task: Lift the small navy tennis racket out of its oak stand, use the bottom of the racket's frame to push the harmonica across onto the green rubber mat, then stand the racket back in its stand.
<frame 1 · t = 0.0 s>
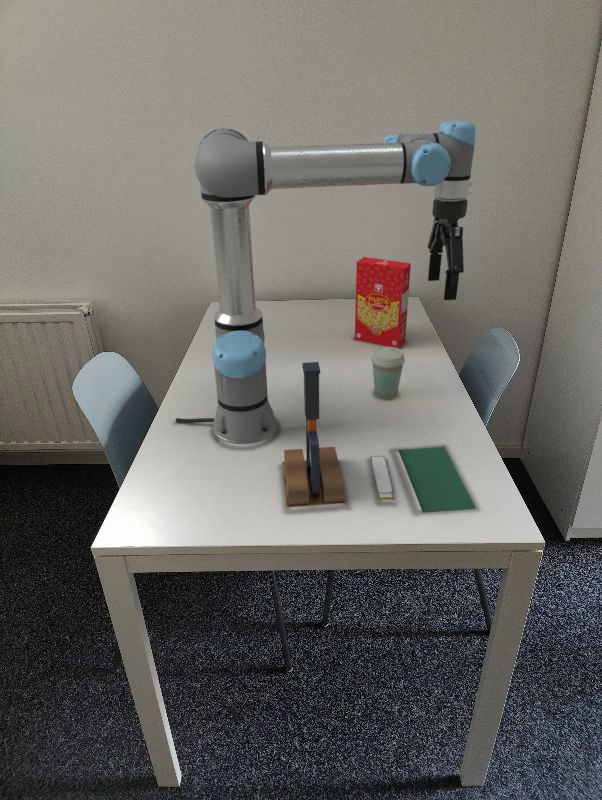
hand: (441, 289, 141), 28 cm above the table, tool pointing down, fingers open, 13 cm apart
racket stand: (313, 485, 122), on the table
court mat: (430, 477, 124), on the table
harmonica: (381, 481, 123), on the table
coffee cup: (385, 394, 155), on the table
food packaging: (379, 341, 183), on the table
racket: (313, 481, 122), point 1 cm above the table, touching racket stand
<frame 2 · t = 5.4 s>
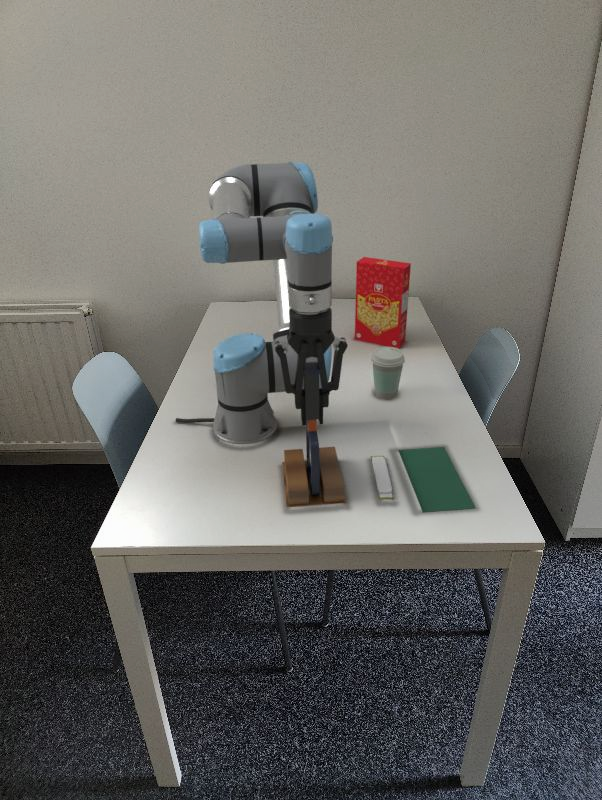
hand: (312, 421, 114), 16 cm above the table, tool pointing down, fingers closed on racket, 3 cm apart
racket: (313, 481, 122), point 1 cm above the table, touching gripper
everything else where it was.
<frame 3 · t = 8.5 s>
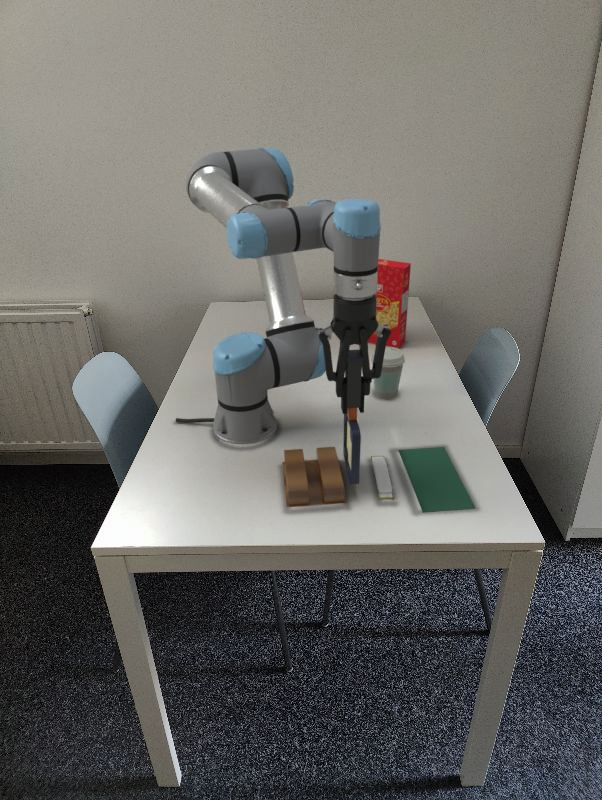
hand: (352, 409, 113), 18 cm above the table, tool pointing down, fingers closed on racket, 3 cm apart
racket: (350, 470, 121), point 3 cm above the table, touching gripper
everything else where it was.
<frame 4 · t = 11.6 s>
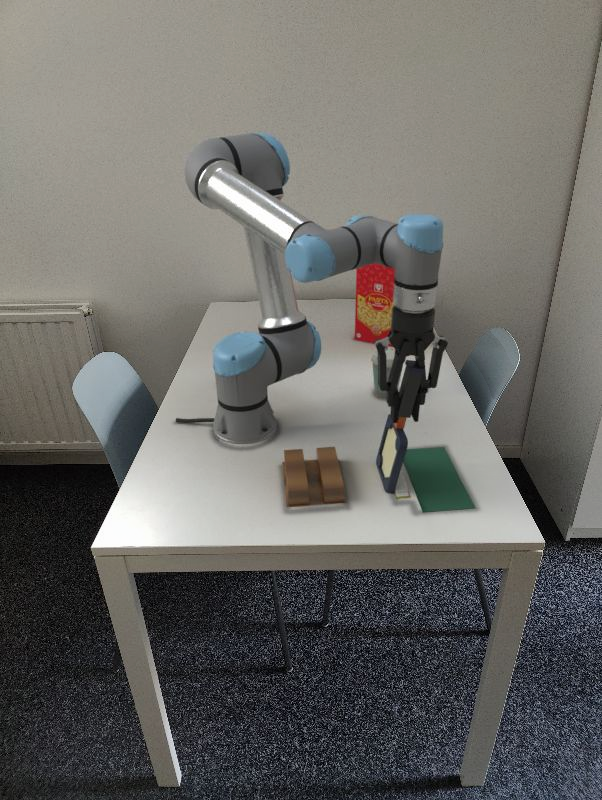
hand: (404, 418, 115), 15 cm above the table, tool pointing down, fingers closed on racket, 3 cm apart
harmonica: (395, 480, 123), on the table, touching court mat, racket
racket: (384, 478, 123), point 1 cm above the table, tilted 10°, touching gripper, harmonica
everything else where it was.
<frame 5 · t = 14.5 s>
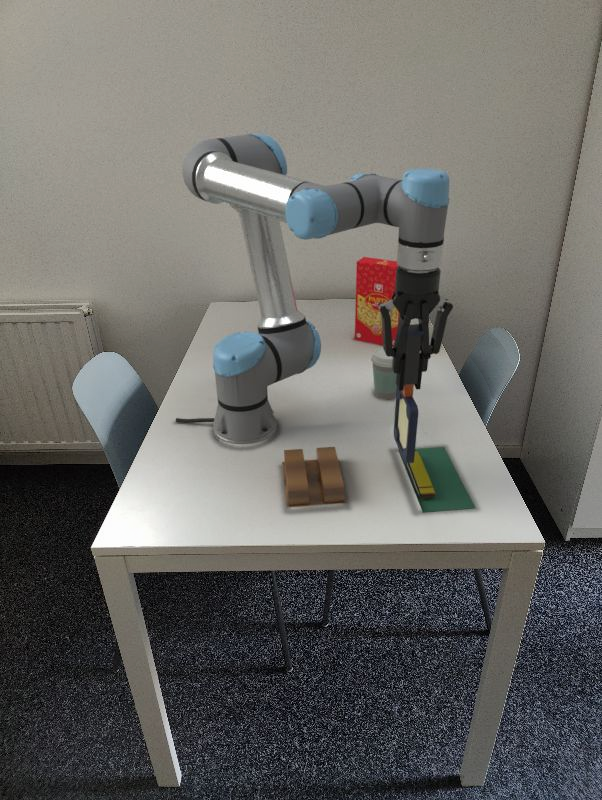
hand: (408, 386, 112), 22 cm above the table, tool pointing down, fingers closed on racket, 3 cm apart
harmonica: (418, 469, 122), point 2 cm above the table, touching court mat
racket: (403, 450, 119), point 8 cm above the table, touching gripper
everything else where it was.
when the fingers open (16 cm above the table, at t = 18.8 s): racket stays where it is, resting on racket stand.
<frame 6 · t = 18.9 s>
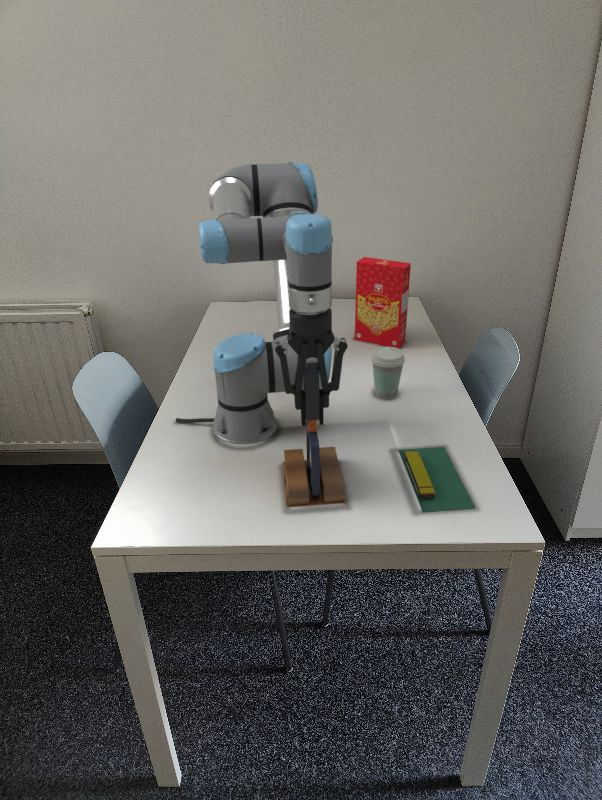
hand: (312, 421, 114), 16 cm above the table, tool pointing down, fingers open, 3 cm apart
racket: (313, 482, 121), point 1 cm above the table, touching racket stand
everything else where it was.
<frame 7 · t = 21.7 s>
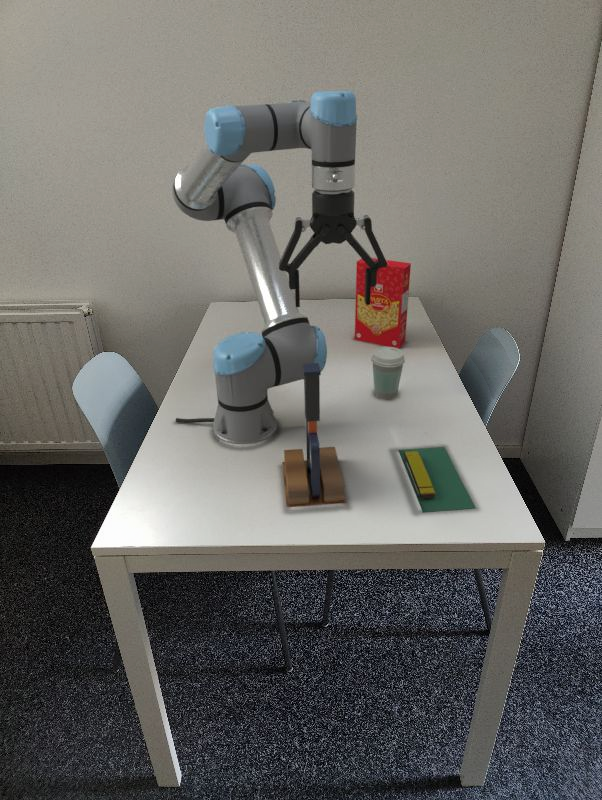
hand: (332, 303, 114), 36 cm above the table, tool pointing down, fingers open, 13 cm apart
nothing on the table moved.
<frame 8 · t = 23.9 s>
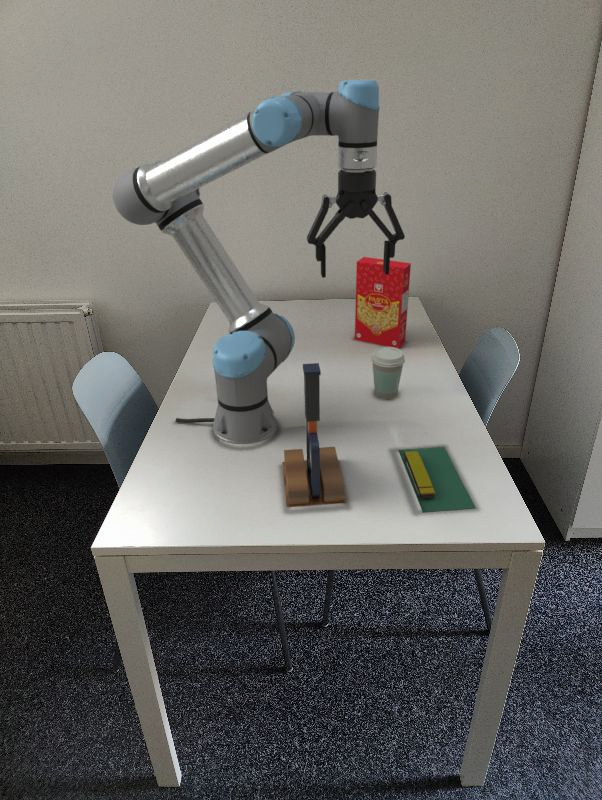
hand: (354, 274, 126), 37 cm above the table, tool pointing down, fingers open, 13 cm apart
nothing on the table moved.
at the end: harmonica inside the target area (3.5 cm from its centre), point 2.3 cm above the table; racket 0.5 cm off-centre on the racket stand, point 1.2 cm above the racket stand's base; racket tilted 0° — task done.
